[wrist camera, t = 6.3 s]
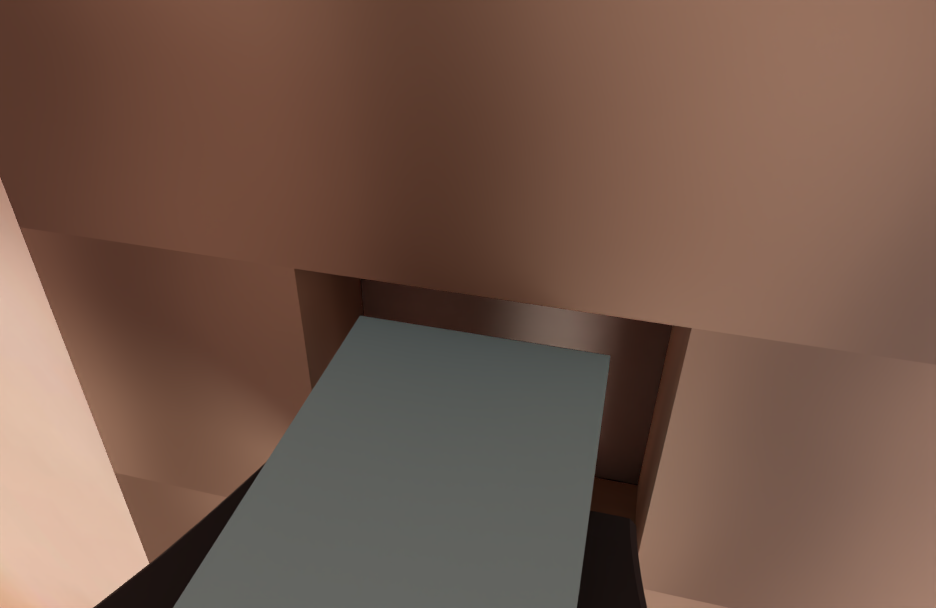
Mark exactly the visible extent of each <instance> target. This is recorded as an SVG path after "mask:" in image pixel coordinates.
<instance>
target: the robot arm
mask: <svg viewBox="0 0 936 608" xmlns="http://www.w3.org/2000/svg"><path fill="white" fill-rule="evenodd" d="M264 465H265V463H264V464H263V465H262V466H261V467H260V468H259V469H258V470H257V471H256V472H255V473H253V474H252V475H251V476H250V477H249V478H248V479H247V480H246V481H245V482H244V483H242V484H241V485H240V486H239V487H238V488H237V489H236V490H235V491H234V492H232V493H231V494H230V495H229V496H228V497H227V498H226V499H225V500H224V501H222V502H221V503H220V504H219V505H218V506H217V507H216V508H214V509H213V510H212V511H211V512H210V513H209V514H208V515H207V516H205V517H204V518H203V519H202V520H201V521H200V522H198V523H197V524H196V525H195V526H194V527H193V528H191V529H190V530H189V531H188V532H187V533H186V534H184V535H183V536H182V537H181V538H180V539H178V540H177V541H176V542H175V543H174V544H173V545H171V546H170V547H169V548H168V549H167V550H166V551H164V552H163V553H162V554H161V555H160V556H158V557H157V558H156V559H155V560H154V561H152V562H151V563H150V564H149V565H147V566H146V567H145V568H144V569H142V570H141V571H140V572H138V573H137V574H136V575H135V576H133V577H132V578H131V579H130V580H128V581H127V582H126V583H124V584H123V585H122V586H121V587H119V588H118V589H117V590H115V591H114V592H113V593H112V594H110V595H109V596H108V597H107V598H105V599H104V600H103V601H101V602H100V603H99V604H98V605H96V606H95V607H94V608H173V607H174V605H175V604H176V602H177V601H178V599H179V598H180V596H181V594H182V593H183V591H184V590H185V588H186V587H187V585H188V584H189V582H190V580H191V579H192V577H193V576H194V574H195V573H196V571H197V569H198V568H199V566H200V565H201V563H202V562H203V560H204V559H205V557H206V555H207V554H208V552H209V551H210V549H211V548H212V546H213V544H214V543H215V541H216V540H217V538H218V537H219V535H220V534H221V532H222V530H223V529H224V527H225V526H226V524H227V523H228V521H229V519H230V518H231V516H232V515H233V513H234V512H235V510H236V509H237V507H238V505H239V504H240V502H241V501H242V499H243V498H244V496H245V494H246V493H247V491H248V490H249V488H250V487H251V485H252V484H253V482H254V480H255V479H256V477H257V476H258V474H259V473H260V471H261V469H262V468H263V466H264ZM577 608H647V604H646V599H645V594H644V589H643V583H642V577H641V571H640V564H639V556H638V546H637V534H636V525H635V524H634V522H633V521H632V520H631V519H630V518H626V517H621V516H616V515H611V514H606V513H601V512H596V511H591V510H590V513H589V521H588V528H587V536H586V543H585V550H584V558H583V565H582V573H581V580H580V588H579V595H578V603H577Z"/></svg>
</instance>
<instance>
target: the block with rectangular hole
mask: <svg viewBox="0 0 936 608" xmlns="http://www.w3.org/2000/svg"><path fill="white" fill-rule="evenodd" d="M0 177H1V180H2V182H3V185H4V188H5V190H6V193H7V195H8V198H9V201H10V203H11V206H12V208H13V211H14V214H15V216H16V219H17V221H18V224H19V226H20V229H21V232H22V234H23V237H24V239H25V242H26V245H27V247H28V250H29V252H30V255H31V258H32V260H33V263H34V265H35V268H36V271H37V273H38V276H39V278H40V281H41V283H42V286H43V289H44V291H45V294H46V296H47V299H48V302H49V304H50V307H51V309H52V312H53V315H54V317H55V320H56V322H57V325H58V328H59V330H60V333H61V335H62V338H63V341H64V343H65V346H66V348H67V351H68V353H69V356H70V359H71V361H72V364H73V366H74V369H75V372H76V374H77V377H78V379H79V382H80V385H81V387H82V390H83V392H84V395H85V398H86V400H87V403H88V405H89V408H90V411H91V413H92V416H93V418H94V421H95V423H96V426H97V429H98V431H99V434H100V436H101V439H102V442H103V444H104V447H105V449H106V452H107V455H108V457H109V460H110V462H111V465H112V468H113V470H114V473H115V475H116V478H117V480H118V483H119V486H120V488H121V491H122V493H123V496H124V499H125V501H126V504H127V506H128V509H129V512H130V514H131V517H132V519H133V522H134V525H135V527H136V530H137V532H138V535H139V538H140V540H141V543H142V545H143V548H144V550H145V553H146V556H147V558H148V561H149V563H151V562H152V561H154V560H155V559H156V558H157V557H158V556H160V555H161V554H162V553H163V552H164V551H166V550H167V549H168V548H169V547H170V546H171V545H173V544H174V543H175V542H176V541H177V540H178V539H180V538H181V537H182V536H183V535H184V534H186V533H187V532H188V531H189V530H190V529H191V528H193V527H194V526H195V525H196V524H197V523H198V522H200V521H201V520H202V519H203V518H204V517H205V516H207V515H208V514H209V513H210V512H211V511H212V510H213V509H214V508H216V507H217V506H218V505H219V504H220V503H221V502H222V501H224V500H225V499H226V498H227V497H228V496H229V495H230V494H231V493H232V492H234V491H235V490H236V489H237V488H238V487H239V486H240V485H241V484H242V483H244V482H245V481H246V480H247V479H248V478H249V477H250V476H251V475H252V474H253V473H255V472H256V471H257V470H258V469H259V468H260V467H261V466H262V465H263V464H264V463H266V462H267V460H268V458H269V457H270V455H271V454H272V452H273V451H274V449H275V448H276V446H277V444H278V443H279V441H280V440H281V438H282V437H283V435H284V433H285V432H286V430H287V429H288V427H289V426H290V424H291V423H292V421H293V419H294V418H295V416H296V415H297V413H298V412H299V410H300V408H301V407H302V405H303V404H304V402H305V401H306V399H307V398H308V396H309V394H310V393H311V391H312V390H313V388H314V387H315V385H316V383H317V382H318V380H319V379H320V377H321V376H322V374H323V373H324V371H325V369H326V368H327V366H328V365H329V363H330V362H331V360H332V358H333V357H334V355H335V354H336V352H337V351H338V349H339V348H340V346H341V344H342V343H343V341H344V340H345V338H346V337H347V335H348V333H349V332H350V330H351V329H352V327H353V326H354V324H355V322H356V321H357V319H358V318H359V316H363V307H362V295H361V283H360V278H361V279H368V280H375V281H381V282H388V283H395V284H401V285H408V286H415V287H421V288H428V289H435V290H441V291H448V292H455V293H461V294H468V295H475V296H481V297H488V298H495V299H501V300H508V301H515V302H521V303H528V304H535V305H541V306H548V307H555V308H561V309H568V310H575V311H581V312H588V313H595V314H601V315H608V316H614V317H621V318H628V319H634V320H641V321H648V322H654V323H661V324H668V325H673V326H672V330H671V335H670V339H669V344H668V349H667V353H666V358H665V362H664V367H663V372H662V376H661V381H660V385H659V390H658V394H657V399H656V404H655V408H654V413H653V417H652V422H651V427H650V431H649V436H648V440H647V445H646V450H645V454H644V459H643V463H642V468H641V473H640V477H639V482H638V486H637V485H632V484H627V483H622V482H617V481H611V480H606V479H601V478H596V477H594V483H593V491H592V498H591V506H590V510H591V511H596V512H601V513H606V514H611V515H616V516H621V517H626V518H630V519H631V520H632V521H633V522H634V524H635V525H636V534H637V546H638V556H639V564H640V571H641V577H642V583H643V589H644V594H645V599H646V604H647V608H936V0H0Z"/></svg>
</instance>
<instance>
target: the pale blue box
mask: <svg viewBox="0 0 936 608" xmlns="http://www.w3.org/2000/svg"><path fill="white" fill-rule="evenodd" d="M610 356H611V355H604V354H598V353H592V352H586V351H579V350H573V349H567V348H561V347H554V346H548V345H542V344H536V343H529V342H523V341H517V340H511V339H504V338H498V337H492V336H485V335H479V334H473V333H467V332H460V331H454V330H448V329H442V328H435V327H429V326H423V325H417V324H410V323H404V322H398V321H392V320H385V319H379V318H373V317H366V316H359V318H358V319H357V321H356V322H355V324H354V326H353V327H352V329H351V330H350V332H349V333H348V335H347V337H346V338H345V340H344V341H343V343H342V344H341V346H340V348H339V349H338V351H337V352H336V354H335V355H334V357H333V358H332V360H331V362H330V363H329V365H328V366H327V368H326V369H325V371H324V373H323V374H322V376H321V377H320V379H319V380H318V382H317V383H316V385H315V387H314V388H313V390H312V391H311V393H310V394H309V396H308V398H307V399H306V401H305V402H304V404H303V405H302V407H301V408H300V410H299V412H298V413H297V415H296V416H295V418H294V419H293V421H292V423H291V424H290V426H289V427H288V429H287V430H286V432H285V433H284V435H283V437H282V438H281V440H280V441H279V443H278V444H277V446H276V448H275V449H274V451H273V452H272V454H271V455H270V457H269V458H268V460H267V462H266V463H265V465H264V466H263V468H262V469H261V471H260V473H259V474H258V476H257V477H256V479H255V480H254V482H253V484H252V485H251V487H250V488H249V490H248V491H247V493H246V494H245V496H244V498H243V499H242V501H241V502H240V504H239V505H238V507H237V509H236V510H235V512H234V513H233V515H232V516H231V518H230V519H229V521H228V523H227V524H226V526H225V527H224V529H223V530H222V532H221V534H220V535H219V537H218V538H217V540H216V541H215V543H214V544H213V546H212V548H211V549H210V551H209V552H208V554H207V555H206V557H205V559H204V560H203V562H202V563H201V565H200V566H199V568H198V569H197V571H196V573H195V574H194V576H193V577H192V579H191V580H190V582H189V584H188V585H187V587H186V588H185V590H184V591H183V593H182V594H181V596H180V598H179V599H178V601H177V602H176V604H175V605H174V607H173V608H577V603H578V595H579V588H580V580H581V573H582V565H583V558H584V550H585V543H586V536H587V528H588V521H589V513H590V506H591V498H592V491H593V483H594V476H595V468H596V461H597V453H598V446H599V438H600V431H601V423H602V416H603V408H604V401H605V393H606V386H607V379H608V371H609V364H610Z"/></svg>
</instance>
